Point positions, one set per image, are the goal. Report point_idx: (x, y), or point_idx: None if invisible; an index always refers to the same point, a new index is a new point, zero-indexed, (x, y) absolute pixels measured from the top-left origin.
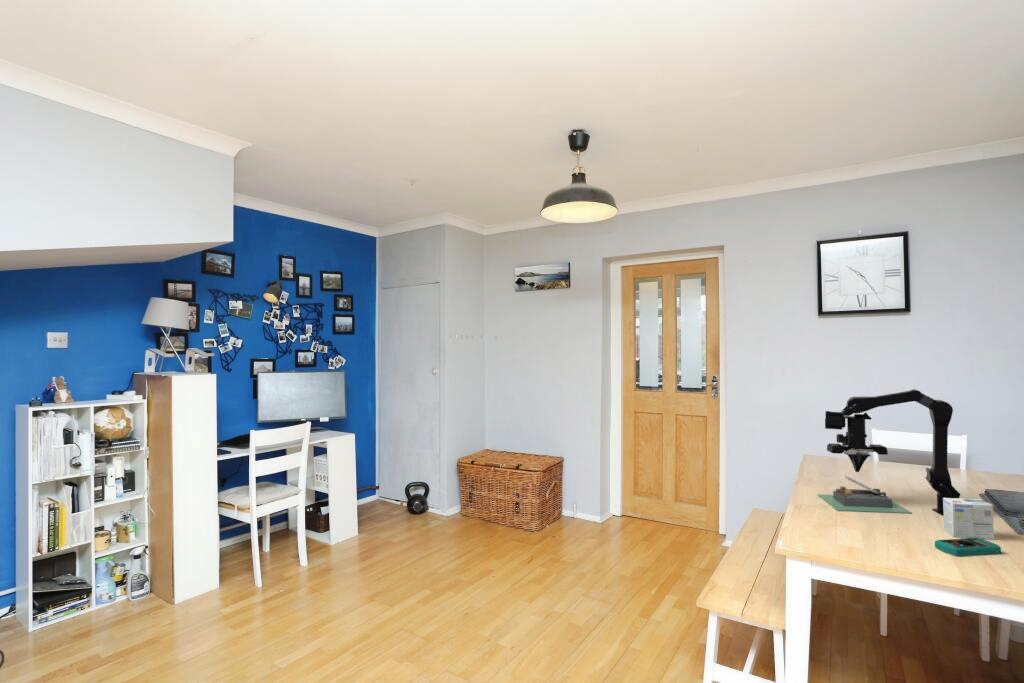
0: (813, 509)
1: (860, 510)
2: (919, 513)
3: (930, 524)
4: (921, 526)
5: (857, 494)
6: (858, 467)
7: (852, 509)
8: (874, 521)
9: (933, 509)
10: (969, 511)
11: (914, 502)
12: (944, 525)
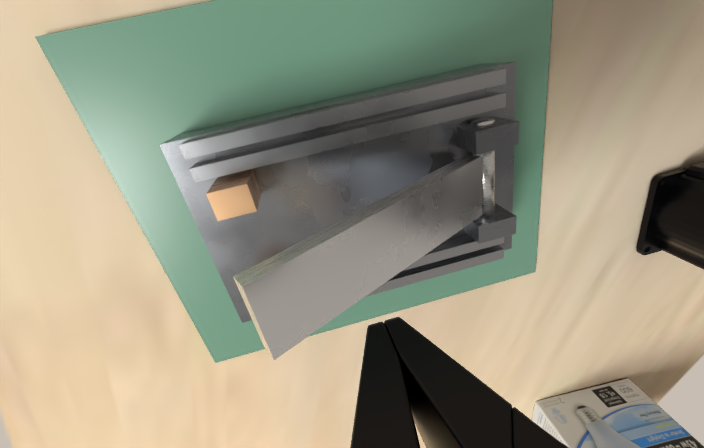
0: (98, 380)
1: (321, 329)
2: (564, 250)
3: (526, 368)
4: None
5: (339, 202)
6: (419, 430)
7: None
8: (350, 415)
9: (654, 192)
10: None
11: (666, 27)
12: (546, 420)
